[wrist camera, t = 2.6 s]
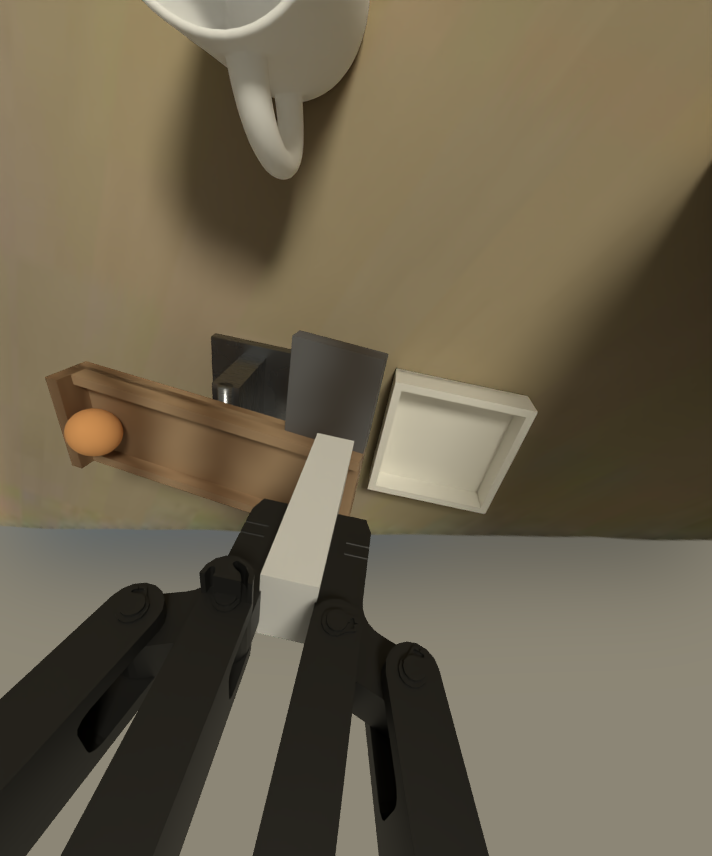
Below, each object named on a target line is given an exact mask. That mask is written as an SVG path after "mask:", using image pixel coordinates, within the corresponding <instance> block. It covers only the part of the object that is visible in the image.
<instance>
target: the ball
mask: <svg viewBox="0 0 712 856" xmlns="http://www.w3.org/2000/svg"><path fill="white" fill-rule="evenodd" d="M64 437H65V440H66V442H67V444H68V445H69V446H70V448H72V449H73V450H74V451H75V452H77V453H79V454H82V455H85V456H102V455H105V454H108V453H110V452H112V451H113V450H114V449H115V448H117V447H118V445H119V444H120V442H121V441H122V438H123V427H122V424H121V422H120V420H119V419H118V418H117V417H116V416H115V415H114V414H112V413H111V412H109V411H106V410H103V409H98V408H90V409H85V410H82V411H79V412H77V413H75V414H74V415H73V416H72V417H71V418H70V419H69V420H68V421H67V423H66V425H65V428H64Z"/></svg>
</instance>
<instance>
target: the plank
mask: <svg viewBox="0 0 712 856" xmlns="http://www.w3.org/2000/svg"><path fill="white" fill-rule="evenodd" d="M387 358H388V354H387V353H383V352H380V351H376V350H372V349H368V348H365V347H361V346H357V345H353V344H349V343H346V342H342V341H338V340H334V339H331V338H327V337H323V336H319V335H316V334H312V333H308V332H304V331H298V332H297V333H295V334H294V335H293V337H292V349H291V360H290V372H289V384H288V395H287V407H286V419H285V421H284V420H281V419H278V418H274V417H271V416H268V415H264V414H261V413H258V412H254V411H251V410H248V409H244V408H241V407H237V406H234V405H231V404H227V403H224V402H221V401H217V400H214V399H211V398H207V397H204V396H201V395H197V394H194V393H191V392H187V391H184V390H180V389H177V388H174V387H170V386H167V385H164V384H160V383H157V382H154V381H150V380H147V379H144V378H140V377H137V376H134V375H130V374H127V373H123V372H120V371H117V370H113V369H110V368H107V367H103V366H100V365H97V364H93V363H90V362H87V361H85V362H83V363H80V364H78V365H75V366H72V367H70V368H67V369H65V370H62V371H60V372H57V373H54V374H52V375H49V376H47V377H45V379H46V382H47V385H48V388H49V392H50V395H51V398H52V401H53V404H54V408H55V411H56V414H57V417H58V421H59V424H60V427H61V430H62V433H63V437H64V428H65V425H66V423H67V421H68V420H69V419H70V418H71V417H72V416H73V415H74V414H75V413H77V412H79V411H82V410H85V409H90V408H98V409H103V410H106V411H109V412H111V413H112V414H114V415H115V416H116V417H117V418H118V419H119V420H120V422H121V424H122V427H123V438H122V441H121V442H120V444H119V445H118V447H117V448H115V449H114V450H113V451H112V452H110V453H108V454H105V455H102V456H85V455H82V454H79V453H77V452H75V451H74V450H73V449H72V448H70V446H69V445H68V444H67V442H66V440H65V437H64V440H65V443H66V446H67V450H68V453H69V456H70V459H71V462H72V465H73V466H76V467H79V468H83V467H85V466H86V465H88V464H89V463H91V462H92V461H97V462H100V463H103V464H106V465H109V466H112V467H115V468H118V469H121V470H124V471H127V472H130V473H133V474H136V475H139V476H142V477H145V478H148V479H150V480H153V481H156V482H159V483H162V484H165V485H168V486H171V487H174V488H177V489H180V490H183V491H186V492H189V493H192V494H195V495H198V496H201V497H204V498H207V499H210V500H213V501H216V502H219V503H222V504H225V505H228V506H231V507H234V508H237V509H240V510H243V511H246V512H249V513H250V512H251V510H252V508H253V507H254V506H256V505H257V504H258V503H259V502H261V501H262V500H263V499H264V498H265V499H269V500H274V501H278V502H283V503H287V504H289V502H290V500H291V497H292V495H293V493H294V490H295V488H296V485H297V483H298V480H299V478H300V475H301V473H302V470H303V468H304V465H305V463H306V460H307V458H308V455H309V453H310V450H311V448H312V446H313V443H314V441H315V438H316V436H317V433H320V434H324V435H329V436H334V437H338V438H343V439H347V440H352V441H354V445H353V450H352V454H351V459H350V464H349V468H348V473H347V478H346V482H345V487H344V492H343V496H342V500H341V505H340V509H339V513H338V514H341V515H345V516H349V517H350V513H351V509H352V505H353V501H354V497H355V492H356V488H357V484H358V480H359V476H360V471H361V467H362V463H363V459H364V455H365V450H366V446H367V442H368V438H369V434H370V429H371V425H372V421H373V417H374V413H375V408H376V404H377V400H378V396H379V391H380V387H381V383H382V379H383V375H384V370H385V366H386V362H387Z"/></svg>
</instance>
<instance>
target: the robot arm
mask: <svg viewBox="0 0 712 856" xmlns="http://www.w3.org/2000/svg"><path fill="white" fill-rule="evenodd" d="M353 445H354V441H352V440H347V439H343V438H338V437H334V436H329V435H324V434H320V433H317V436H316V438H315V441H314V443H313V446H312V448H311V450H310V453H309V455H308V458H307V460H306V463H305V465H304V468H303V470H302V473H301V475H300V478H299V480H298V483H297V485H296V488H295V490H294V493H293V495H292V497H291V500H290V502H289V504H287V503H283V502H278V501H274V500H269V499H265V498H264V499H263V500H262V501H261V502H259V503H258V504H257V505H256V506H254V507H253V508H252V510H251V512H250V514H249V516H248V518H247V520H246V523H245V524H244V526H243V528H242V530H241V533H240V534H239V535H238V537H237V539H236V541H235V543H234V545H233V547H232V549H231V551H230V553H229V555H228V556H223V557H220V558H216V559H214V560H213V561H211V562H209V563H208V564H206V565H205V567H204V568H203V569H202V570H201V571H200V583H201V588H199V589H196V590H192V591H187V592H177V593H166V594H163V593H162V591H161V590H160V589H159V588H158V587H157V586H156V585H152V584H148V583H139V584H133V585H130V586H127V587H125V588H123V589H121V590H120V591H118V592H117V593H115V594H114V595H113V596H111V597H110V598H109V599H108V600H107V601H106V602H105V603H104V604H103V605H102V606H100V608H98V609H97V610H96V611H95V612H94V613H93V614H92V615H91V616H90V617H89V618H87V619H86V620H85V621H84V622H83V623H82V624H81V625H80V626H79V627H78V628H77V629H76V630H75V631H73V632H72V633H71V634H70V635H69V636H68V637H67V638H66V639H65V640H64V641H63V642H62V643H60V644H59V645H58V646H57V647H56V648H55V649H54V650H53V651H52V652H51V653H50V654H49V655H47V656H46V657H45V658H44V659H43V660H42V661H41V662H40V663H39V664H38V665H37V666H36V667H34V668H33V669H32V671H30V672H29V673H28V674H27V675H26V676H25V677H24V678H23V679H22V680H20V681H19V682H18V683H17V684H16V685H15V686H14V687H13V688H12V689H11V690H10V691H9V692H7V693H6V694H5V695H4V696H3V697H2V698H1V699H0V856H26V855H27V853H28V852H29V851H30V849H31V848H32V847H33V846H34V844H35V843H36V842H37V841H38V839H39V838H40V837H41V835H42V834H43V833H44V831H45V830H46V829H47V828H48V826H49V825H50V824H51V822H52V821H53V820H54V819H55V817H56V816H57V814H58V813H59V812H60V811H61V809H62V808H63V807H64V806H65V804H66V803H67V802H68V800H69V799H70V798H71V797H72V795H73V794H74V793H75V791H76V790H77V789H78V787H79V786H80V785H81V783H82V782H83V781H84V779H85V778H86V777H87V776H88V775H89V773H90V772H91V771H92V769H93V768H94V767H95V766H96V764H97V763H98V762H99V760H100V759H101V758H102V756H103V755H104V754H105V753H106V751H107V750H108V749H109V747H110V746H111V745H112V744H113V742H114V741H115V740H116V738H117V737H118V736H119V734H120V733H121V732H122V730H123V729H124V728H125V727H126V725H127V724H128V723H129V722H130V720H131V719H132V718H133V716H134V715H135V714H136V712H137V711H138V712H137V714H136V716H135V718H134V719H133V721H132V723H131V725H130V727H129V729H128V731H127V732H126V734H125V736H124V738H123V740H122V742H121V744H120V746H119V748H118V749H117V751H116V753H115V755H114V757H113V759H112V761H111V762H110V764H109V766H108V768H107V770H106V772H105V774H104V776H103V777H102V779H101V781H100V783H99V785H98V787H97V789H96V791H95V792H94V794H93V796H92V798H91V800H90V802H89V804H88V806H87V808H86V809H85V811H84V813H83V815H82V817H81V819H80V821H79V822H78V824H77V826H76V828H75V830H74V832H73V834H72V835H71V837H70V839H69V841H68V843H67V845H66V847H65V849H64V850H63V852H62V854H61V856H179V854H180V852H181V849H182V846H183V843H184V840H185V837H186V835H187V832H188V829H189V826H190V823H191V821H192V817H193V815H194V812H195V809H196V806H197V804H198V801H199V798H200V795H201V792H202V789H203V787H204V784H205V781H206V778H207V775H208V772H209V769H210V767H211V764H212V761H213V758H214V755H215V752H216V750H217V747H218V744H219V741H220V738H221V736H222V733H223V730H224V727H225V724H226V721H227V719H228V716H229V713H230V710H231V707H232V704H233V702H234V699H235V696H236V693H237V690H238V687H239V684H240V682H241V679H242V676H243V673H244V670H245V667H246V664H247V662H248V659H249V656H250V651H251V642H252V639H253V637H254V634H255V631H256V628H257V633H260V634H265V635H270V636H273V637H278V638H282V639H286V640H291V641H295V642H300V643H304V648H303V651H302V656H301V660H300V664H299V668H298V672H297V676H296V681H295V684H294V689H293V693H292V697H291V701H290V705H289V709H288V713H287V717H286V722H285V725H284V729H283V734H282V738H281V742H280V746H279V750H278V754H277V758H276V762H275V766H274V770H273V775H272V779H271V783H270V787H269V791H268V795H267V799H266V803H265V807H264V811H263V816H262V820H261V824H260V828H259V832H258V836H257V840H256V844H255V848H254V852H253V856H335V853H336V844H337V835H338V827H339V819H340V810H341V801H342V793H343V785H344V776H345V767H346V759H347V750H348V742H349V733H350V725H351V717H352V713H353V714H354V715H356V716H357V717H359V718H360V719H362V720H363V721H364V722H365V727H366V737H367V746H368V756H369V764H370V775H371V785H372V794H373V804H374V813H375V823H376V832H377V842H378V852H379V856H489V854H488V850H487V847H486V843H485V839H484V835H483V832H482V828H481V824H480V821H479V817H478V813H477V810H476V806H475V802H474V798H473V795H472V791H471V787H470V783H469V780H468V776H467V772H466V768H465V765H464V761H463V757H462V754H461V750H460V746H459V742H458V739H457V735H456V731H455V727H454V724H453V720H452V716H451V712H450V709H449V705H448V701H447V697H446V693H445V690H444V686H443V682H442V679H441V675H440V671H439V668H438V666H437V664H436V661H435V659H434V658H433V657H432V655H431V654H430V653H429V652H428V651H427V650H426V649H425V648H423V647H422V646H420V645H418V644H417V643H411V642H403V643H399V644H397V645H396V644H394V643H393V642H391V641H389V640H387V639H386V638H384V637H383V636H381V635H380V634H378V633H377V632H376V631H374V630H373V628H372V627H371V626H370V625H369V624H368V622H367V620H366V618H365V616H364V612H363V595H364V585H365V578H366V570H367V569H366V568H367V560H368V553H369V545H370V536H371V532H370V529H369V527H368V524H367V521H366V520H363V519H358V518H354V517H349V516H345V515H341V514H338V513H339V509H340V505H341V500H342V496H343V492H344V487H345V482H346V478H347V473H348V468H349V464H350V459H351V454H352V450H353Z"/></svg>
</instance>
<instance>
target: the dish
mask: <svg viewBox="0 0 712 856" xmlns="http://www.w3.org/2000/svg"><path fill="white" fill-rule="evenodd" d="M537 413H538V412H537V410H536V408H535V407H534V405H533V404H532V402H531V400H530V399H529V397H528V396H525V395H520V394H515V393H510V392H506V391H501V390H496V389H492V388H487V387H482V386H478V385H473V384H468V383H464V382H459V381H454V380H449V379H445V378H440V377H435V376H431V375H426V374H421V373H417V372H412V371H407V370H402V369H398V368H396V371H395V375H394V379H393V383H392V387H391V391H390V395H389V399H388V403H387V406H386V410H385V414H384V418H383V422H382V426H381V430H380V434H379V438H378V442H377V446H376V449H375V453H374V457H373V461H372V465H371V469H370V475H369V483H368V489H370V490H374V491H379V492H384V493H388V494H393V495H398V496H402V497H407V498H412V499H416V500H421V501H426V502H430V503H435V504H440V505H444V506H449V507H454V508H458V509H463V510H468V511H472V512H477V513H482V514H485V513H486V511H487V509H488V507H489V506H490V504H491V502H492V500H493V498H494V496H495V494H496V492H497V490H498V488H499V486H500V484H501V482H502V480H503V479H504V477H505V475H506V473H507V471H508V469H509V467H510V465H511V463H512V461H513V459H514V457H515V455H516V454H517V452H518V450H519V448H520V446H521V444H522V442H523V440H524V438H525V436H526V434H527V432H528V430H529V428H530V427H531V425H532V423H533V421H534V419H535V417H536V415H537Z"/></svg>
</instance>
